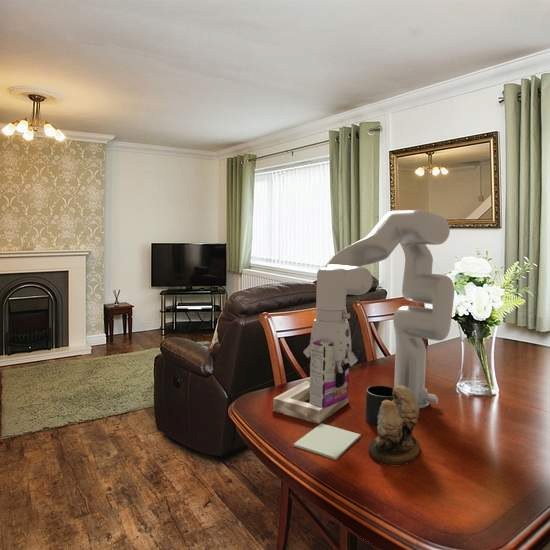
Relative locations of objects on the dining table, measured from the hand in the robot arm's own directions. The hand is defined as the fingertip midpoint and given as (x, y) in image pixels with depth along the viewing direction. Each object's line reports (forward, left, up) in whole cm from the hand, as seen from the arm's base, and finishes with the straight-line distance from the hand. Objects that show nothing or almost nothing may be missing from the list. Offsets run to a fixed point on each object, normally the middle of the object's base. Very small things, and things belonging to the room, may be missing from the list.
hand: (329, 383), depth 114 cm
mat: (0, 0, -16) cm, 16 cm away
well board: (+15, -18, -16) cm, 28 cm away
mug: (-7, -22, -16) cm, 28 cm away
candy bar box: (0, 0, -5) cm, 5 cm away
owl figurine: (-16, -6, -16) cm, 23 cm away
